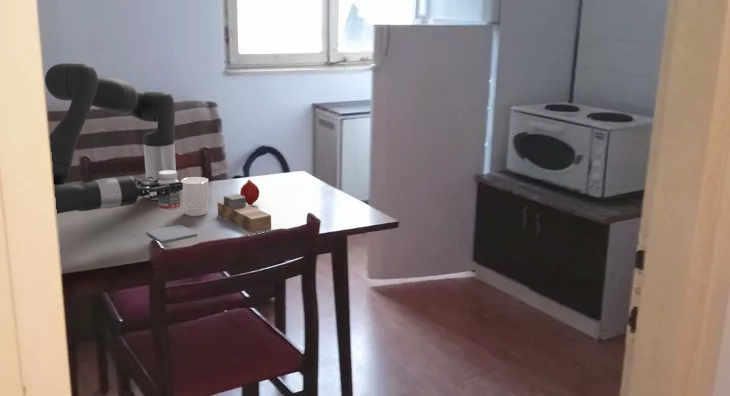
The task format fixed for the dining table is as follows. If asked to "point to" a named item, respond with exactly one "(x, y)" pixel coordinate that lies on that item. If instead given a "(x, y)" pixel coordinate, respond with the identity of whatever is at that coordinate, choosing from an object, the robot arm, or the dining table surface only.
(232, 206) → the wooden block
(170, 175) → the pill bottle
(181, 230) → the grey pad
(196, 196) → the white cup
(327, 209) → the dining table surface
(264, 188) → the dining table surface
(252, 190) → the onion
